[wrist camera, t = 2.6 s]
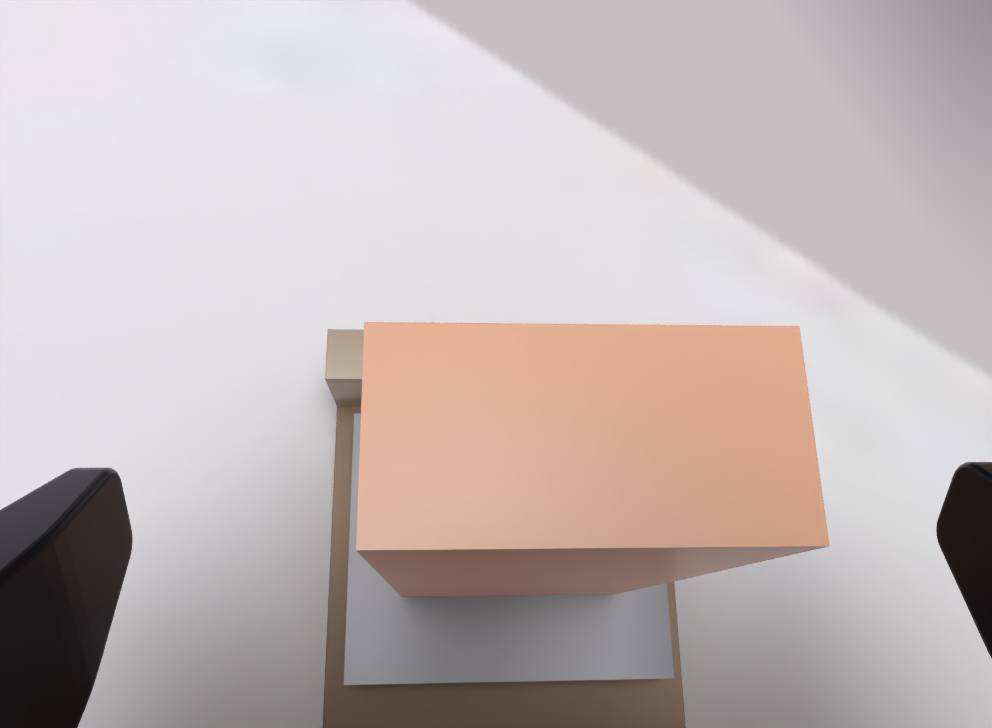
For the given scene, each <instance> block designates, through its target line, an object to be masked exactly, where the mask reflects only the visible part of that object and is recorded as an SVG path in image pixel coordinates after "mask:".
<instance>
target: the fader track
mask: <svg viewBox="0 0 992 728" xmlns="http://www.w3.org/2000/svg"><path fill="white" fill-rule="evenodd" d="M363 343H364V330H332V329H328V334H327V353H326V373H325V379H326V382H327V384H328V386H329V388H330V391H331V393H332V395H333V397H334V400H335V402H336V404H337V424H336V446H335V468H334V490H333V512H332V534H331V556H330V578H329V600H328V623H327V645H326V667H325V689H324V711H323V728H685V715H684V703H683V690H682V677H681V665H680V652H679V639H678V627H677V614H676V601H675V589H674V581H672V582H668V583H667V591H668V604H669V617H670V630H671V643H672V656H673V669H674V678H671V679H621V680H571V681H521V682H470V683H420V684H370V685H344V665H345V639H346V613H347V587H348V562H349V536H350V510H351V484H352V458H353V433H354V413H361V398H362V370H363Z"/></svg>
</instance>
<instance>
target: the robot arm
mask: <svg viewBox="0 0 992 728" xmlns="http://www.w3.org/2000/svg"><path fill="white" fill-rule="evenodd" d="M937 538H938V542H939V545H940V548H941V550H942V552H943V554H944V556H945V559H946V561H947V563H948V565H949V567H950V570H951V572H952V574H953V576H954V578H955V580H956V583H957V585H958V587H959V589H960V591H961V594H962V596H963V598H964V600H965V602H966V604H967V607H968V609H969V611H970V613H971V615H972V618H973V620H974V622H975V624H976V626H977V628H978V631H979V633H980V635H981V637H982V639H983V642H984V644H985V646H986V648H987V650H988V652H989V654H990V656H991V658H992V462H967V463H964V464H962V465H961V466H959V467H958V469H957V470H956V471H955V473H954V475H953V478H952V481H951V484H950V487H949V489H948V492H947V495H946V498H945V501H944V503H943V506H942V509H941V512H940V515H939V518H938V521H937ZM131 550H132V530H131V525H130V520H129V515H128V511H127V506H126V501H125V496H124V492H123V487H122V482H121V479H120V477H119V475H118V473H117V472H116V471H115V470H113V469H112V468H74V469H71V470H69V471H67V472H65V473H64V474H62V475H60V476H58V477H57V478H55V479H53V480H51V481H50V482H48V483H46V484H45V485H43V486H41V487H39V488H38V489H36V490H34V491H32V492H31V493H29V494H27V495H26V496H24V497H22V498H20V499H19V500H17V501H15V502H13V503H12V504H10V505H8V506H7V507H5V508H3V509H1V510H0V728H77V727H78V724H79V722H80V720H81V717H82V715H83V712H84V710H85V707H86V704H87V702H88V699H89V697H90V694H91V691H92V689H93V686H94V683H95V679H96V676H97V673H98V670H99V666H100V663H101V659H102V656H103V652H104V649H105V645H106V641H107V638H108V634H109V631H110V627H111V624H112V620H113V616H114V613H115V609H116V606H117V602H118V599H119V595H120V591H121V588H122V584H123V581H124V577H125V574H126V570H127V566H128V563H129V559H130V555H131Z"/></svg>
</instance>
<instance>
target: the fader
mask: <svg viewBox="0 0 992 728" xmlns="http://www.w3.org/2000/svg"><path fill="white" fill-rule="evenodd" d="M828 546H829V540H828V532H827V525H826V518H825V510H824V503H823V496H822V488H821V481H820V474H819V466H818V459H817V452H816V444H815V437H814V430H813V422H812V415H811V408H810V400H809V393H808V386H807V379H806V371H805V364H804V357H803V349H802V342H801V335H800V327H799V326H716V325H609V324H502V323H395V322H364V343H363V370H362V398H361V413H354V433H353V458H352V484H351V510H350V536H349V562H348V587H347V613H346V639H345V665H344V685H370V684H420V683H470V682H521V681H571V680H621V679H671V678H674V669H673V656H672V643H671V630H670V617H669V604H668V591H667V583H668V582H672V581H677V580H681V579H686V578H690V577H695V576H699V575H703V574H708V573H712V572H717V571H721V570H726V569H730V568H734V567H739V566H743V565H748V564H752V563H757V562H761V561H765V560H770V559H774V558H779V557H783V556H788V555H792V554H796V553H801V552H805V551H810V550H814V549H819V548H823V547H828Z"/></svg>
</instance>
